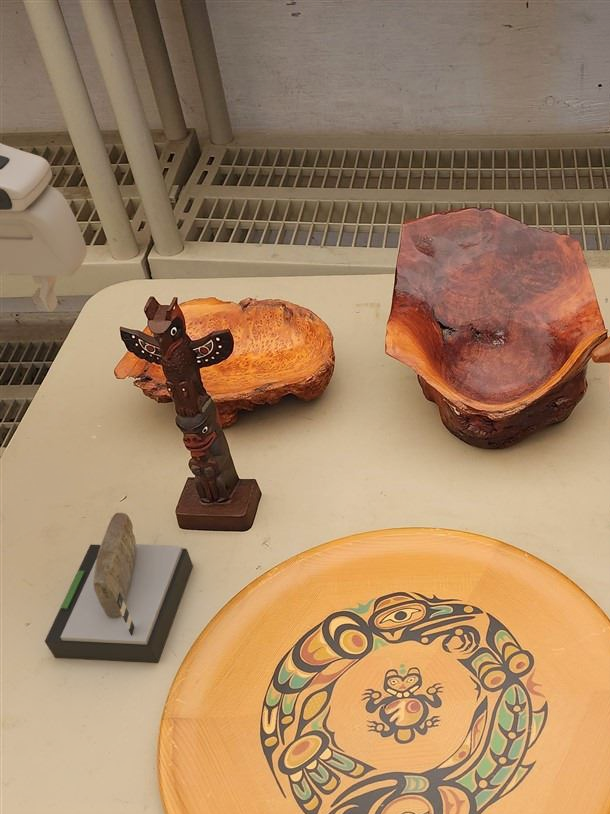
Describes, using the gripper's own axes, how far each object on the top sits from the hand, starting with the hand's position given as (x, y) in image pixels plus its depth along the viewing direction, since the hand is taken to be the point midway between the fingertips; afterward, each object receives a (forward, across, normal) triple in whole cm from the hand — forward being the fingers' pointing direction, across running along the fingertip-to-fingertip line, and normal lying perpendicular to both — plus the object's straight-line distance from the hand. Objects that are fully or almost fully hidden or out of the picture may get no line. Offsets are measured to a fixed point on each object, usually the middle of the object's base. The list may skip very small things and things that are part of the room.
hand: (2, 306), depth 86 cm
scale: (+27, +10, -17) cm, 34 cm away
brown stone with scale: (+24, +12, -17) cm, 31 cm away
